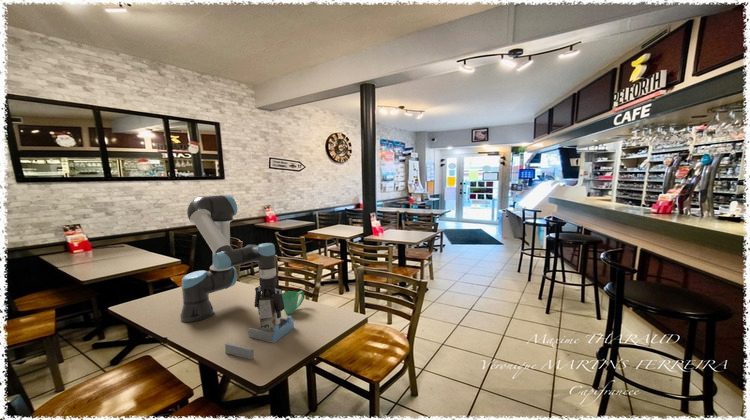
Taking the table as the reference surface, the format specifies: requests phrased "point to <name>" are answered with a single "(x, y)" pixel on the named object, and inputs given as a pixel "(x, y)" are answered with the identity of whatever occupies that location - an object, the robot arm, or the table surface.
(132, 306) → the table surface
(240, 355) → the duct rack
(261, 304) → the coffee box
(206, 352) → the table surface
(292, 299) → the mug
